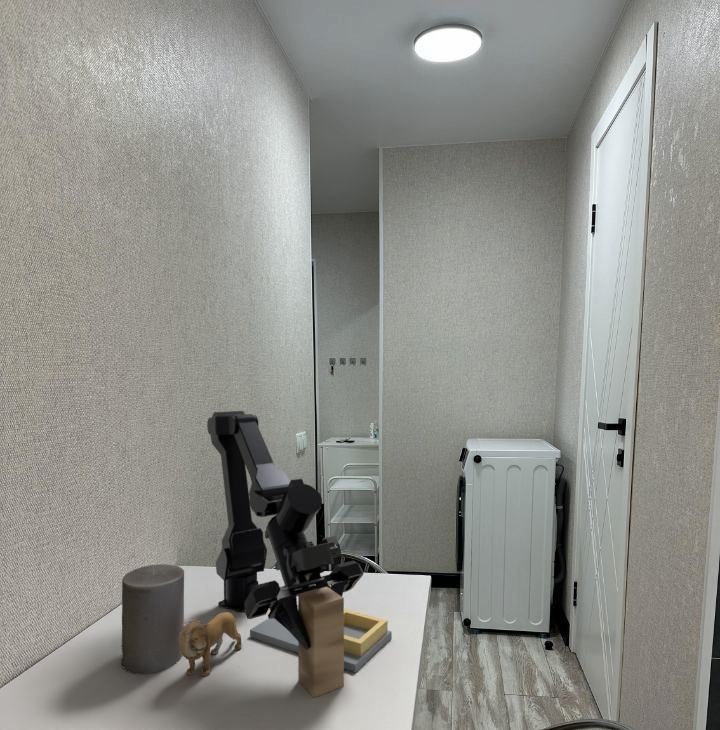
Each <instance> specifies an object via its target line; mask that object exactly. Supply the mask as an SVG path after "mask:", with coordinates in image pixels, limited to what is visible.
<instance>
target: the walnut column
mask: <svg viewBox="0 0 720 730" xmlns="http://www.w3.org/2000/svg"><path fill="white" fill-rule="evenodd" d="M297 599H298V601H297V605H298V611H299V614H300V617H301V619H302V622H303V624H304V627H305V629H306V632H307V635H308V638H309V642H310V648H309V649H308V650H306V649H305V648H304V647H303V646H302V645H301V644H300V643H299V642H298V653H297V654H298V657H297V659H298V661H297V663H298V666H297V668H298V680H297V681H298V682H299V683H300V684H301V685H302V686H303V687H304V688H305V689H306V691H308V692H309V694H310V695H311V696H313V698H317V697H320V696H322V695H324V694H325V695H326V694H327V693H330V692H332V691H335V690H337V689H340V688H342V687H344V686H345V669H344V609H345V600H344V597H343V595H342V596H340V595H339V594H337V593H336V592H334V591H333V590H331V589H330V588H328V587H324V588H320V589H316V590H312V591H309V592H305V593H301V594H298V596H297Z"/></svg>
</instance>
